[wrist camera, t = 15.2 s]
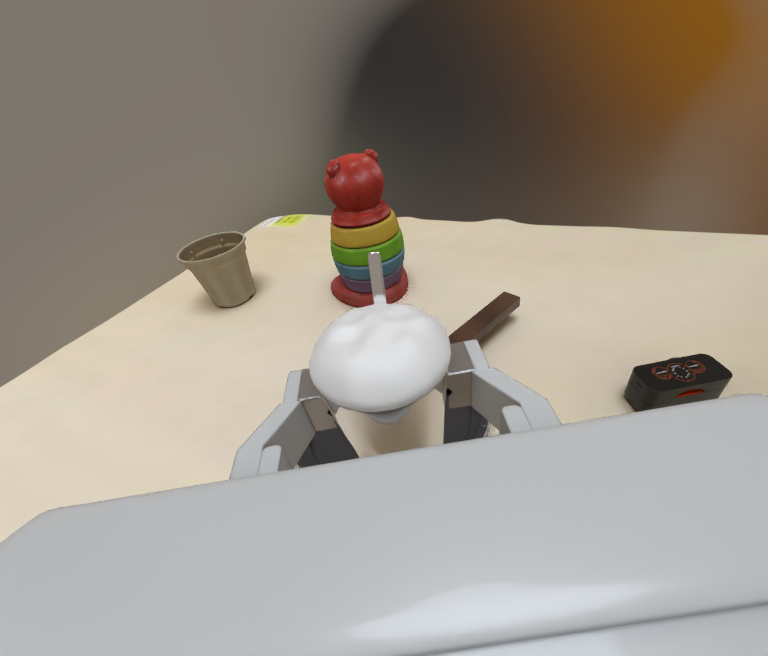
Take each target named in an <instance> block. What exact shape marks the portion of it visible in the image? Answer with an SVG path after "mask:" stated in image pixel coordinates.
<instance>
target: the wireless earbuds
mask: <svg viewBox="0 0 768 656" xmlns="http://www.w3.org/2000/svg"><path fill="white" fill-rule="evenodd" d="M731 378H732V373H731V372H730V371H729V370H728V369H727V368H725V367H724V366H723V365H722V364H720V363H719V362H718V361H716V360H715V359H714V358H713V357H711V356H709V355H706V354H696V355H691V356H686V357H681V358H670V359H668V360H666V361H661V362H656V363H651V364H646V365H641V366H636V367H635V368H634V369H633V371H632V374H631V376H630V379H629V381H628V384H627V386H626V389H625V392H624V393H625V396H626V397H627V399H628V400H629V401H630V402H631V403H632V404H633V406H634V407H635V408H636V409H637V410H638V411H645V410H651V409H657V408H663V407H669V406H675V405H681V404H687V403H693V402H699V401H705V400H712V399H717V398H718V397H719V396H720V394H721V393H722V391H723V390H724V388H725V387H726V385H727V384H728V382H729V381H730V379H731Z"/></svg>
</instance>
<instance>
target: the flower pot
mask: <svg viewBox="0 0 768 656" xmlns="http://www.w3.org/2000/svg"><path fill="white" fill-rule="evenodd" d="M245 240H246V238H245V235H244V234H243V233H241V232H236V231H235V232H234V231H230V232H221V233H217V234H212V235H209V236H206V237H203V238H200V239H198V240H196V241H193V242H191V243H190V244H188V245H186V246H185V247H183V248H182V249H181V250H180V251H179V252H178V253H177V256H176V257H177V260H178V261H179V262H181V263H183V264H184V265H185V266H186V268H187V269H189V270H190V271H191V272H192V273H193V274H194V276H195V277H196V278H197V280H198V281H199V282H200V284H201V285H202V286H203V288H204V289H205V290H206V292H207V293H208V294H209V296H210V297H211V298H212V300H213V301H214V303H215V304H216V305H217V306H219V307H220V306H224V307H233V306H236V305H239V304H242V303H244V302H246V301H247V300H248V299H249V297H250V296H251V295H254V293H255V286H254V283H253V279H252V276H251V272H250V268H249V264H248V260H247V256H246V252H245V250H246V246H245Z"/></svg>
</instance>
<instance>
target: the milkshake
mask: <svg viewBox="0 0 768 656" xmlns="http://www.w3.org/2000/svg"><path fill="white" fill-rule="evenodd" d="M368 263H369V271H370V278H371V286H372V293H373V301H374V304H373V305H369V306H365V307H361V308H356V309H352V310H349V311H347V312H345V313H344V314H342V315H341V316H340V317H338V318H337V319H335V320H334V321H333V322H332V323H331V324H330V325H329V326H328V327H327V328H326V329H325V330H324V331H323V333H322V334H321V335H320V337H319V338H318V340H317V342H316V344H315V347H314V349H313V351H312V354H311V357H310V361H309V371H310V376H311V379H312V381H313V383H314V385H315V386H316V388H317V389H318V391H319V393H320V394H321V396H322V398H323V400H324V402H325V403H326V405H327V407H328V409H329V410H330V412H331V414H332V416H333V417H334V419H335V421H336V423H337V424H338V426H339V428H340V430H341V431H342V433H343V434H344V436H345V438H346V440H347V442H348V444H349V446H350V448H351V450H352V452H353V454H354V456H355V458H356V459H357V458H363V457H369V456H375V455H381V454H387V453H393V452H399V451H405V450H411V449H417V448H423V447H429V446H435V445H441V444H443V438H444V419H445V408H446V397H447V387H448V376H449V366H450V358H451V348H450V341H449V337H448V333H447V331H446V329H445V327H444V326H443V325H442V323H441V322H440V321H438V320H437V319H435V318H434V317H432V316H430V315H428V314H427V313H425V312H424V311H422V310H420V309H419V308H417V307H414V306H412V305H408V304H387V302H386V294H385V286H384V278H383V270H382V263H381V255H380V252H375V253H369V254H368Z"/></svg>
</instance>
